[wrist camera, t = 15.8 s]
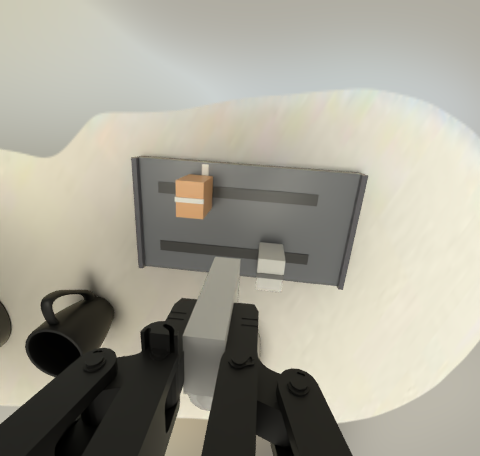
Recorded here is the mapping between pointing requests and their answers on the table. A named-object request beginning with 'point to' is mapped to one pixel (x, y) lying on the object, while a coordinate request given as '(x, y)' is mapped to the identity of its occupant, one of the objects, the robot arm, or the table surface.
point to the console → (249, 217)
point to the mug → (68, 331)
